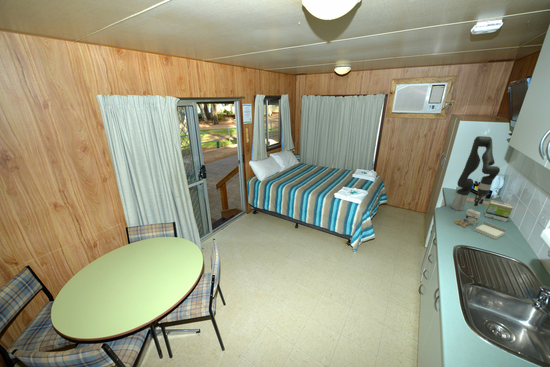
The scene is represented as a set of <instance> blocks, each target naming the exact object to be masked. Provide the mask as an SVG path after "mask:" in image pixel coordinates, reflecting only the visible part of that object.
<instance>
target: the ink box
mask: <svg viewBox="0 0 550 367" xmlns="http://www.w3.org/2000/svg"><path fill="white" fill-rule="evenodd" d="M480 216H481V212H479V211H477V210H475V209H472V208H470V209H467V210H466V213H465V215H464V218H463V220H462V221H465V222H467V223H469V225H473V226H475V225H477V224H478V222H479V219H480Z"/></svg>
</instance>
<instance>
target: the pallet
mask: <svg viewBox="0 0 550 367" xmlns="http://www.w3.org/2000/svg"><path fill="white" fill-rule="evenodd" d="M453 223H454V225H455V224H456V225H458V226H460V227H462V228H465V227H466V226H469V225H470V223H467V222H465V221H463V220H462V219H459V218H458V219H457V220H454V222H453Z"/></svg>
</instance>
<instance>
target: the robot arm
mask: <svg viewBox="0 0 550 367" xmlns="http://www.w3.org/2000/svg"><path fill="white" fill-rule="evenodd" d="M480 147H481V148H485V151H484V153H482V156H481V157H480V155H479V148H480ZM493 154H494V153H493V139H492V137H490V136H485V135H483V136H479V135H478V136H475V138H474V140H473V143H472V147H471V149H470V153H469V156H468V158H467V160H466V163H465V165H464V167H463V168H464V169H463V170H462V172H461V174H460V176H459V178H458V180H457V186H458V188H459V189H457V190H456V193H455V196H454V198H453V200H452V202H451V206H450V208H452V209H453V210H456V211H464V209H465V205H466V203H467V199H468V198H469V195H470V193H471V191H472V189H473V187H474V180H473V179H472V178H469V177H470V175H471V174H473V173H474V172H475V171H476V170H477V169H478V168H479V166H480V164H481V161H482V167H481V172H482V174H484V176H482V177H481V180H480V183H479V184H478V187H477V190H476V193H477V194H476V196H475V197H474V200H473V202H474V204H473V206H474V207H478V206H479V205H483V202H485V200H486V198H487V197H488V195H489V194H490V192H491V188H492V185H493V182H494V179H496V178H497V176H498V175H499V173H500V171H501V170H500V167H499V166H496V165H495V166H494V164H495V159H494V155H493ZM485 175H486V176H485Z"/></svg>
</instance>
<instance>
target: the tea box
mask: <svg viewBox="0 0 550 367" xmlns="http://www.w3.org/2000/svg"><path fill="white" fill-rule="evenodd" d="M512 211H513V204H510V203H506V202H501V201H497V200H491V199H490V200H489V203H488V205H487V207H486V209H485V212H484V217H485V216H486V218H490V219H494V220H497V221H498V220H499V221H502V222H505V223H507V222H508V220H509V217H510V215H511V213H512Z"/></svg>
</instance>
